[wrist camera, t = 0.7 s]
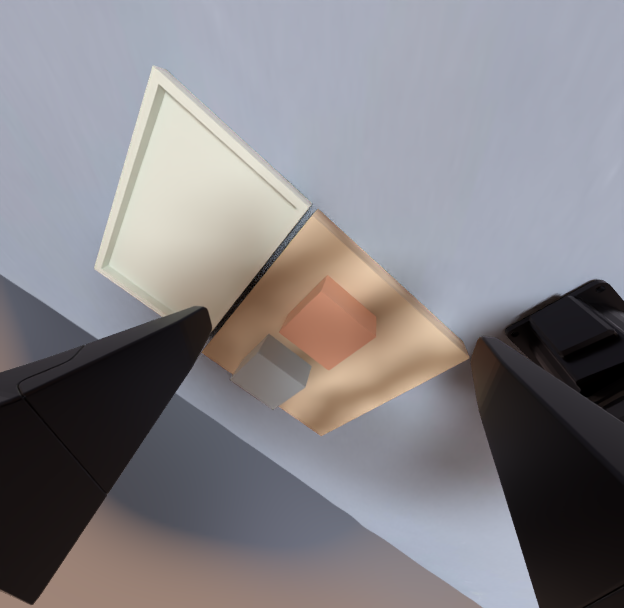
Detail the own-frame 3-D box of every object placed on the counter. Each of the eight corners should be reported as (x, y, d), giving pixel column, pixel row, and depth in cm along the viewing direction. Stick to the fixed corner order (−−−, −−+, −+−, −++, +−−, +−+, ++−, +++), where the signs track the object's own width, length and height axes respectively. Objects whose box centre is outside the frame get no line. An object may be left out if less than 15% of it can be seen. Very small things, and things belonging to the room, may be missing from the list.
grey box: (311, 366, 24) (305, 387, 22) (281, 389, 27) (273, 409, 25) (268, 333, 23) (257, 352, 21) (241, 360, 26) (229, 379, 24)
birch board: (462, 341, 22) (469, 358, 20) (324, 420, 31) (321, 436, 30) (317, 208, 19) (312, 215, 17) (211, 340, 28) (201, 352, 27)
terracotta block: (376, 316, 20) (376, 337, 18) (333, 349, 23) (328, 370, 21) (327, 274, 19) (321, 290, 17) (288, 314, 22) (278, 332, 20)
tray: (312, 203, 19) (309, 207, 18) (207, 337, 28) (201, 344, 27) (166, 69, 17) (152, 65, 16) (104, 263, 26) (93, 268, 25)
